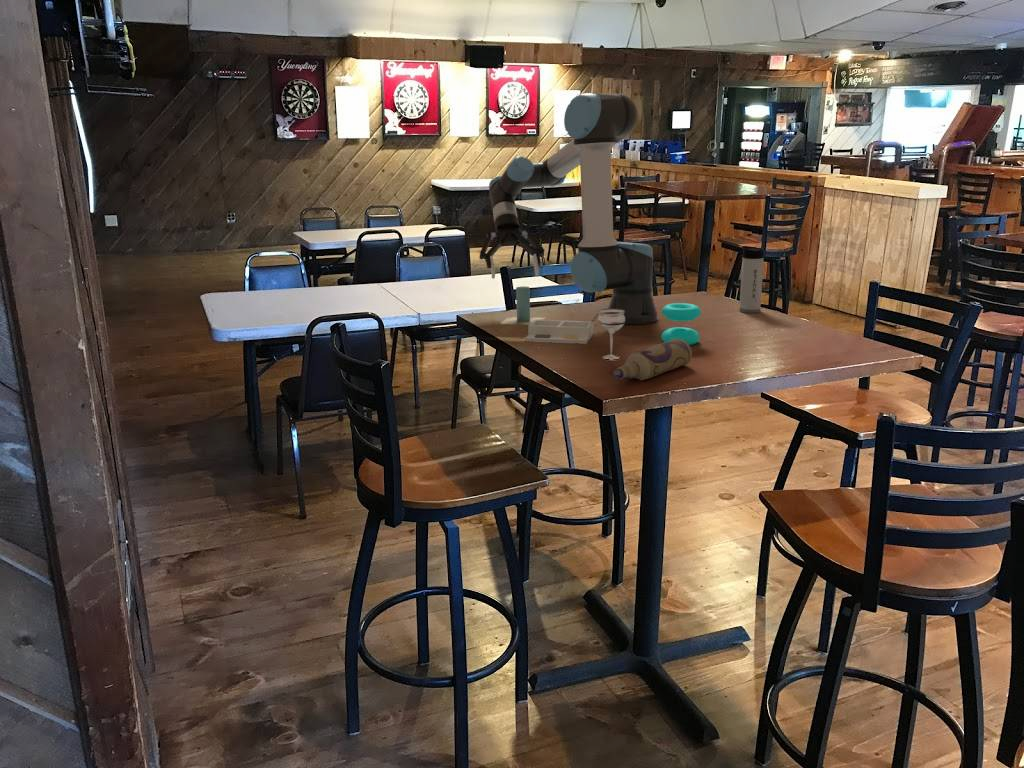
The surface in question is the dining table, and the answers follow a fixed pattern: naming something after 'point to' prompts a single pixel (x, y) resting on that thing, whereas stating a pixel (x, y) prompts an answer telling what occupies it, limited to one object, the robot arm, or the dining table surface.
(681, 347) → the decorative bottle
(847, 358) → the dining table surface
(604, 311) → the wineglass
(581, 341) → the divided storage tray
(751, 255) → the travel mug
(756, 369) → the dining table surface
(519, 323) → the deck
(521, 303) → the green rectangular block
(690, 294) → the dining table surface
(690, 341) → the donuts
